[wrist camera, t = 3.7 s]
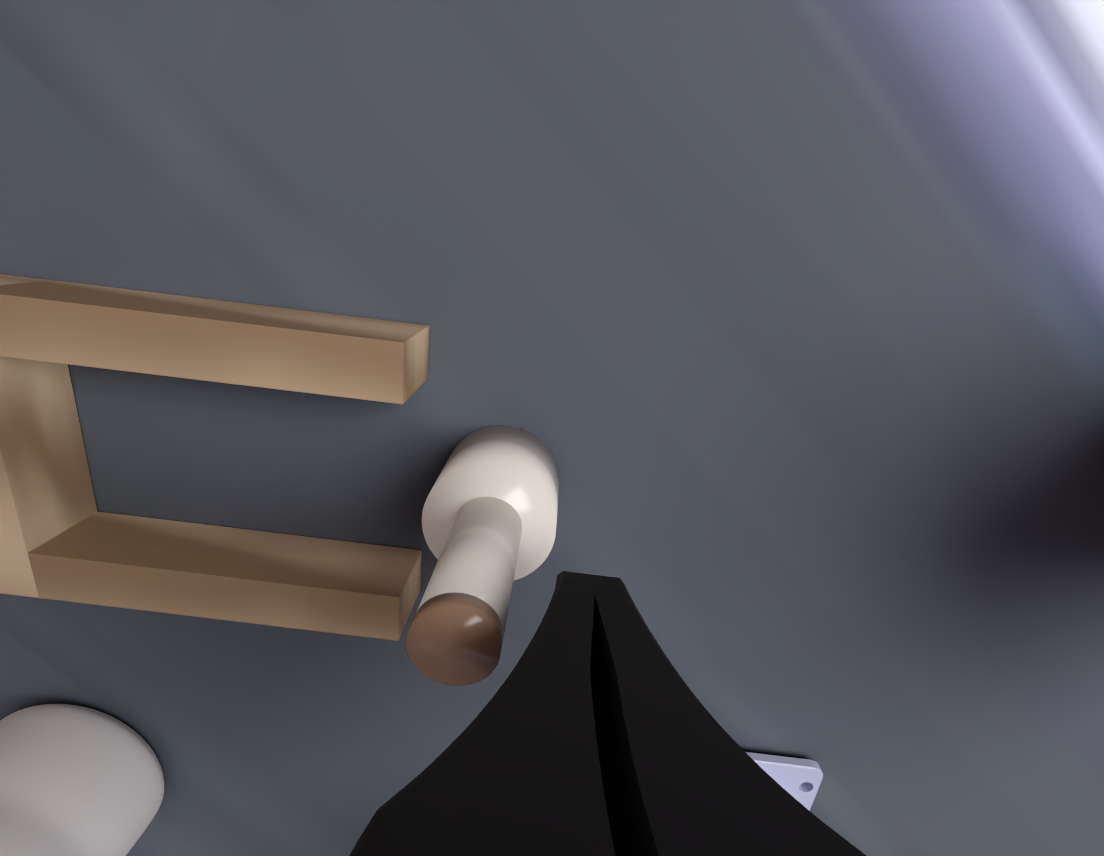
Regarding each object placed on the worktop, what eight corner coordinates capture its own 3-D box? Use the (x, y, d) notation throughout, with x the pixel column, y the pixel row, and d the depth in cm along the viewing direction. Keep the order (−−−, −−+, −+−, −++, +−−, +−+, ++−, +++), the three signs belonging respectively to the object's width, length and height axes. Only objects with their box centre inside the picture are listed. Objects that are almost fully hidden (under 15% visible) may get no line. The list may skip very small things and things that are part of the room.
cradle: (420, 589, 19) (398, 640, 17) (59, 546, 19) (-14, 591, 17) (429, 325, 16) (403, 342, 13) (-5, 273, 16) (-107, 281, 13)
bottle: (552, 534, 18) (537, 730, 11) (444, 521, 18) (359, 709, 11) (565, 432, 17) (558, 580, 10) (449, 418, 17) (357, 556, 10)
